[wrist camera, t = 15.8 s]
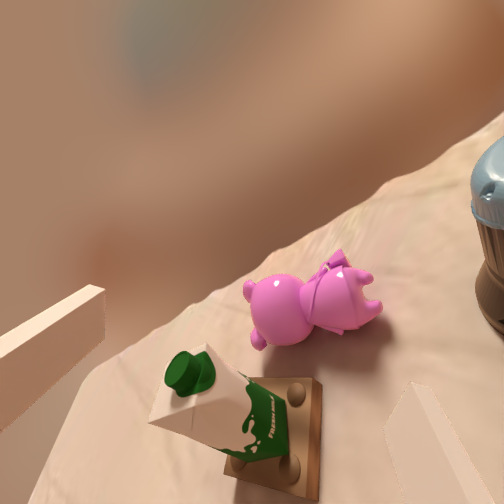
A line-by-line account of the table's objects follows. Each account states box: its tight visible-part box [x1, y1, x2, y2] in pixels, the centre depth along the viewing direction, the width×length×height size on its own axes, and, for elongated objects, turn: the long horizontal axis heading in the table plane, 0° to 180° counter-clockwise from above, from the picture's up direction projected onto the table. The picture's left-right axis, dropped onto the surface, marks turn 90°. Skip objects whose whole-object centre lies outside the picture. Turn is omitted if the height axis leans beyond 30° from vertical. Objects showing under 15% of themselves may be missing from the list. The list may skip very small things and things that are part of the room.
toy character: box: [243, 249, 383, 351], centre depth 48 cm, size 16×13×25 cm
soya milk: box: [148, 343, 289, 463], centre depth 35 cm, size 9×9×20 cm
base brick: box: [223, 377, 322, 501], centre depth 41 cm, size 14×14×4 cm
